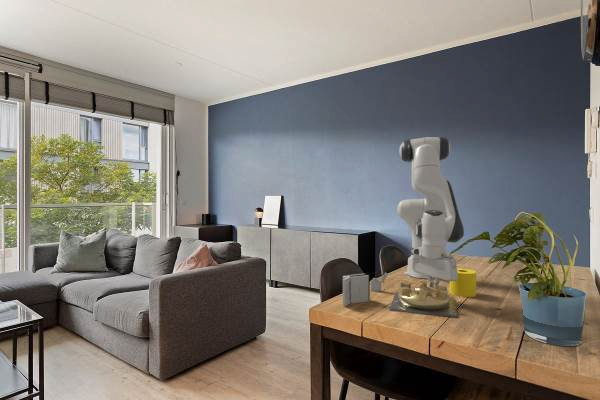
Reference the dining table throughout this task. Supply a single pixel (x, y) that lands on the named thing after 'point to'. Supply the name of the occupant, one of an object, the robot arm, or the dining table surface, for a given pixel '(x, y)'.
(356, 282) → the grey and black block
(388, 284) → the dining table surface
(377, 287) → the grey angled block
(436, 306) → the gold radial fin assembly
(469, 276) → the yellow toilet paper roll
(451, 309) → the base plate
